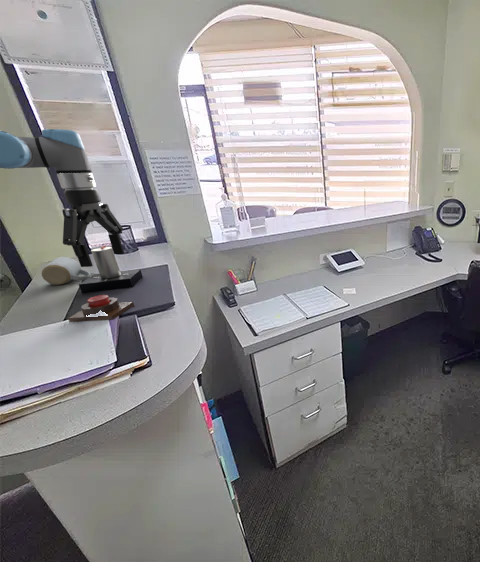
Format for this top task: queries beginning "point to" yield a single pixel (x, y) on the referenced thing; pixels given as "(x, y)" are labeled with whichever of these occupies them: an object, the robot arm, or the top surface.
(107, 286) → the panel
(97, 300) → the power button
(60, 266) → the ceramic mug
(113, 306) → the button block
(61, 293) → the top surface
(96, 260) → the silver cylinder
